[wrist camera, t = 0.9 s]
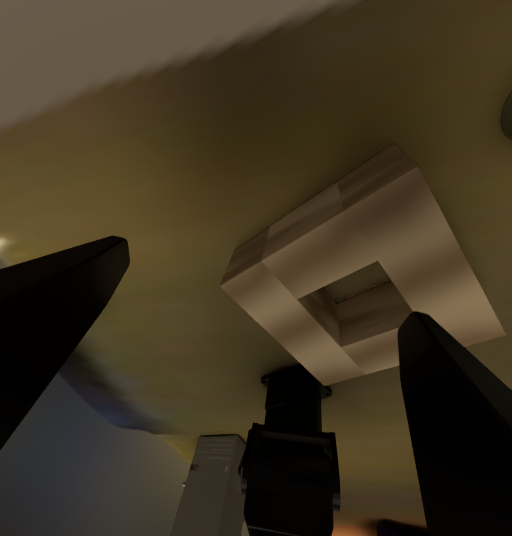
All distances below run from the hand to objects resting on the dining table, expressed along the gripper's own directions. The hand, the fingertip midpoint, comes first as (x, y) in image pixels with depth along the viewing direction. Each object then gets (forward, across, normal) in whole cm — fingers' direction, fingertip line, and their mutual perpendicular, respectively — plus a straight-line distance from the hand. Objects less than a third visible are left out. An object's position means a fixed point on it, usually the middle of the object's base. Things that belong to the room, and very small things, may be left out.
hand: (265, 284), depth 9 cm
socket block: (+13, -7, +7) cm, 17 cm away
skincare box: (+13, -1, +49) cm, 51 cm away
